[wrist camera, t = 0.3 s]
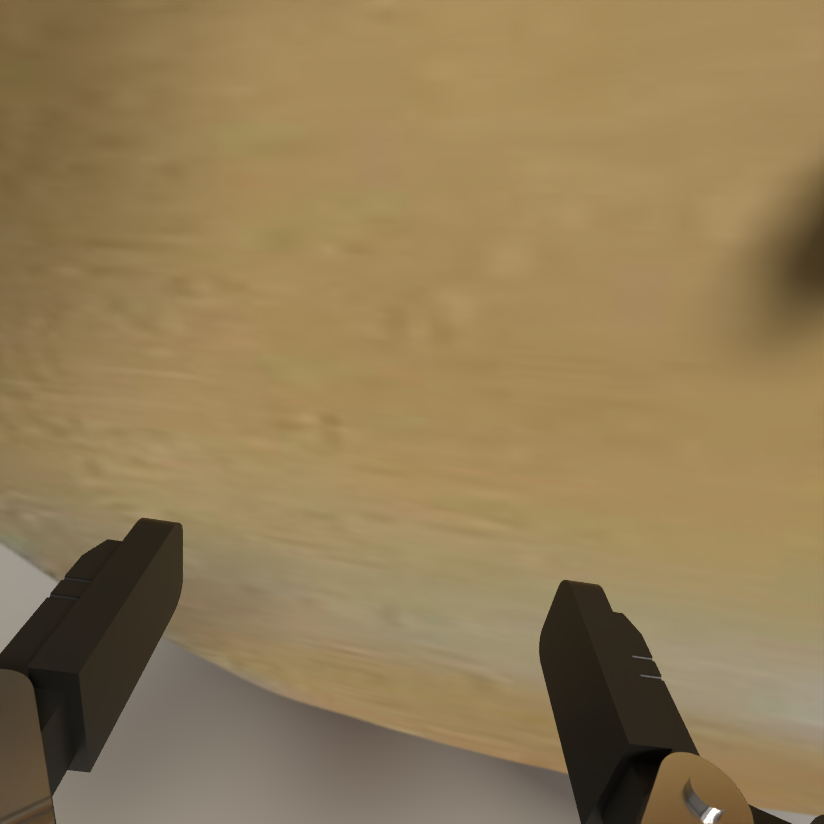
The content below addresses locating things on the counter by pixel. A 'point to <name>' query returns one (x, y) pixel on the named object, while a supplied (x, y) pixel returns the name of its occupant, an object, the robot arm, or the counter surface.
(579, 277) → the counter surface
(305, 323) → the counter surface
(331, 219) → the counter surface
